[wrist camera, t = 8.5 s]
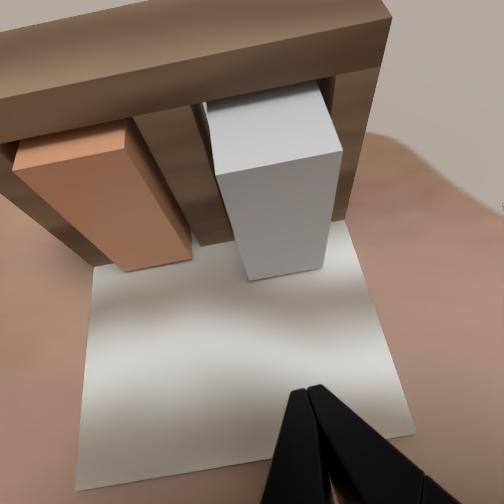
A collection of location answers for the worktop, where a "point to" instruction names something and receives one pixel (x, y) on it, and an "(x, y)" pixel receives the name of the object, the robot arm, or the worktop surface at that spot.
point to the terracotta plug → (108, 191)
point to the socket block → (205, 230)
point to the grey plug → (277, 175)
